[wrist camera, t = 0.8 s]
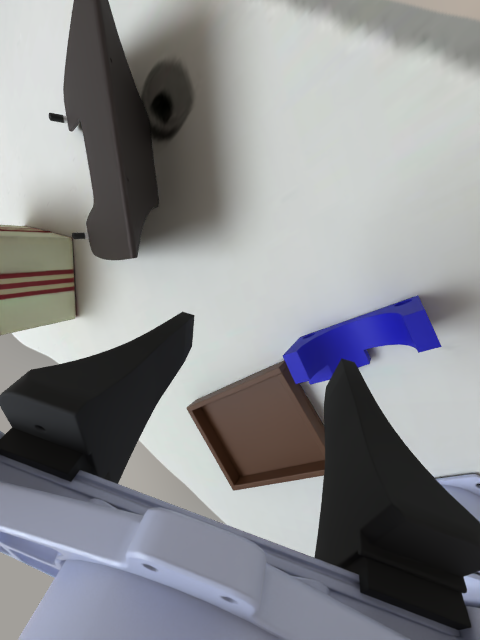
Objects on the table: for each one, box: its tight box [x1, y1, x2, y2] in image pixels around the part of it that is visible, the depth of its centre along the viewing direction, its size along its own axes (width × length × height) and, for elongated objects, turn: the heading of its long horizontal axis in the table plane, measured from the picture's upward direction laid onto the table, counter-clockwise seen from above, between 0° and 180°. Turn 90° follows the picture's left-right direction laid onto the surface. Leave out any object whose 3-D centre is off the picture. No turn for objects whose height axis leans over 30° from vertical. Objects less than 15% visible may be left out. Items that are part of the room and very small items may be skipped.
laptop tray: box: [49, 0, 159, 260], centre depth 34 cm, size 23×23×9 cm
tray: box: [187, 360, 325, 490], centre depth 36 cm, size 13×16×2 cm
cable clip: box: [283, 296, 441, 384], centre depth 26 cm, size 12×4×6 cm, turn 118°
